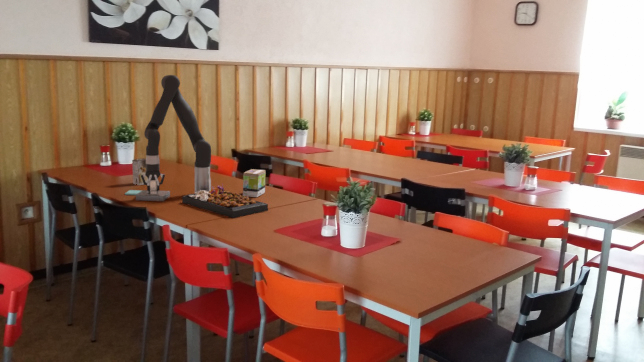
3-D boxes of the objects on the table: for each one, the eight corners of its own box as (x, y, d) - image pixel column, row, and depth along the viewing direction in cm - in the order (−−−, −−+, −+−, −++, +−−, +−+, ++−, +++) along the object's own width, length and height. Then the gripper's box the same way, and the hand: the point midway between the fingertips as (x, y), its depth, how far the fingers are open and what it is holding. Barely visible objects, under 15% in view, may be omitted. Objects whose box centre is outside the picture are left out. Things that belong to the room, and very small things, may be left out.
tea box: (258, 197, 346) (258, 173, 343) (242, 196, 348) (242, 172, 345) (265, 192, 361) (265, 169, 358) (250, 191, 363) (250, 168, 360)
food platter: (182, 203, 327) (182, 186, 325) (216, 197, 345) (216, 180, 343) (232, 219, 298) (233, 200, 296) (267, 211, 316) (267, 193, 314)
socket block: (170, 195, 343) (169, 190, 342) (163, 201, 329) (163, 196, 328) (143, 194, 343) (143, 190, 342) (135, 200, 329) (135, 195, 328)
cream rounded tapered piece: (157, 196, 337) (156, 179, 336) (157, 197, 333) (156, 180, 332) (149, 196, 336) (149, 179, 334) (149, 197, 332) (149, 181, 330)
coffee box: (144, 182, 379) (144, 158, 376) (150, 183, 376) (150, 159, 373) (132, 184, 372) (132, 159, 369) (138, 185, 368) (138, 160, 365)
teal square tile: (144, 192, 350) (144, 190, 350) (140, 195, 341) (139, 193, 341) (129, 191, 350) (129, 190, 350) (124, 194, 341) (124, 193, 341)
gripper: (165, 161, 337) (165, 190, 340) (139, 161, 332) (140, 190, 336) (165, 163, 330) (166, 192, 333) (139, 163, 325) (140, 193, 329)
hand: (153, 191), depth 334 cm, fingers closed on cream rounded tapered piece, 4 cm apart
